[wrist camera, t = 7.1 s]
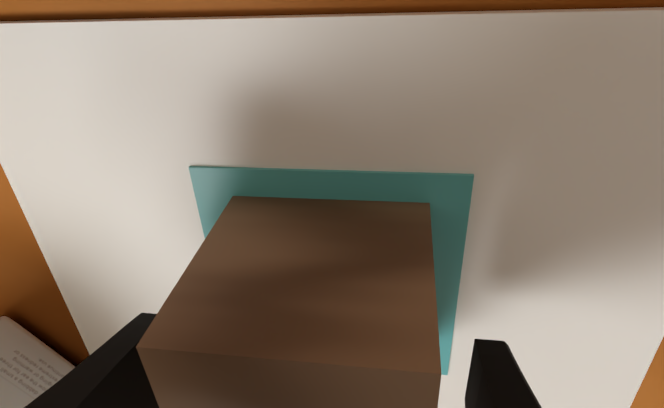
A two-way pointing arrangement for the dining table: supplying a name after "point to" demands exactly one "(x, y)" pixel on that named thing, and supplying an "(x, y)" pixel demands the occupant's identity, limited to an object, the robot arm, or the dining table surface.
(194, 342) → the walnut block
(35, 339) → the small box
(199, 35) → the board
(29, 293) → the dining table surface
